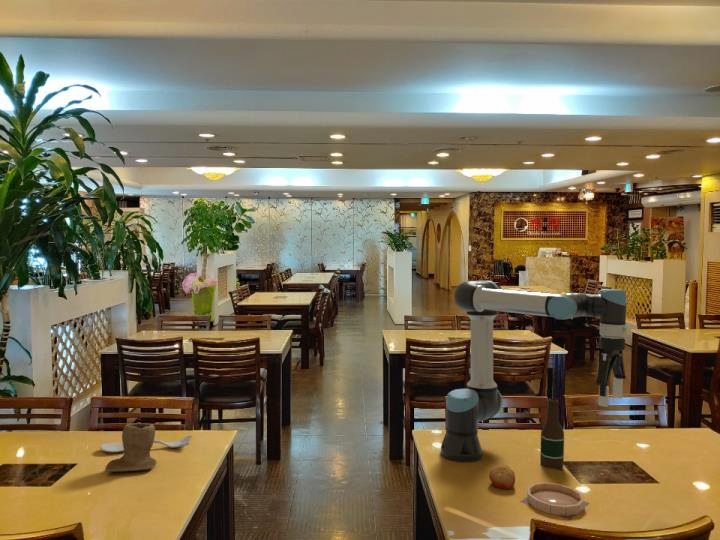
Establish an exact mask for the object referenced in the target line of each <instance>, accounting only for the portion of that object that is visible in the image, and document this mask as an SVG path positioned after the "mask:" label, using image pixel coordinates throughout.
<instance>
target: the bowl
mask: <svg viewBox="0 0 720 540" xmlns="http://www.w3.org/2000/svg"><path fill="white" fill-rule="evenodd" d="M526 497H527V500H528V503H529V504H531V505H532V506H531V507H533V508H534V509H536V510H537V511H541V512H544V513H547V514H550V515H555V516H558V515H563V516H568V515H575V514H577V515H579V514H580V513H582V512H583V511H584V510H585V508H584V501H585V498H584V496H583V494H582V493H581V492H580V491H578V490H577V489H574V488H573V487H571V486H566V485H563V484H561V483H555V482H554V483H553V482H546V481H545V482H543V481H542V482H537V483H536V482H535V483H532V484H531V485H529V486H527V488H526Z"/></svg>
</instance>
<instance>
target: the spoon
mask: <svg viewBox="0 0 720 540" xmlns="http://www.w3.org/2000/svg"><path fill="white" fill-rule="evenodd" d="M192 437H193V436H192V435H187V436H185V437H183V438H180V439H176V440H174V441H171V442H169V441H168V442H166V441H164V440H161V439H154V442H153V444H160V445H163V446H166V447H168V448H172V449H173V448H174V449H175V448H182V447H187V446H189V445H190V441H191V440H192ZM99 449H100V450H101V451H103V452H107V453H121V452H124V448H123V442H108V443H103V444H101V445H100V447H99Z"/></svg>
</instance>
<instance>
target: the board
mask: <svg viewBox="0 0 720 540" xmlns="http://www.w3.org/2000/svg"><path fill="white" fill-rule="evenodd" d="M520 503H522V504H526V505H528V506H530V507H533V506H532V505H531V504H529V503H528V500H527V496H526V497H525V498H523V499H522V500H520ZM589 504H590V503H589V502H588V501H585V500H584V509H585V508H586V507H587V506H588V505H589ZM577 515H578V514H575V515H568V516H563V515H557V516H559V517H561V518H564V519H567V520H572V519H573V518H575V517H576V516H577Z"/></svg>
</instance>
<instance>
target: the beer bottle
mask: <svg viewBox="0 0 720 540" xmlns="http://www.w3.org/2000/svg"><path fill="white" fill-rule="evenodd" d="M547 403H548V405H547V406H548V407H547V416H546V420H545V421H546V422H545V423H544V424H543V426H542V428H541V431H540V456H539V457H540V458H539V459H540V460H539V461H540V466H543V467H545V468H549V469H552V470H553V469H554V470H557V471H560V472H561V471H562V470H563V468H564V463H565V461H564V459H565V458H564V456H565V430H564V429H563V426H562V425H561V423H560V419H559V403H560V402H559V400H558V399H557V398H549V399H548V400H547Z"/></svg>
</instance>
